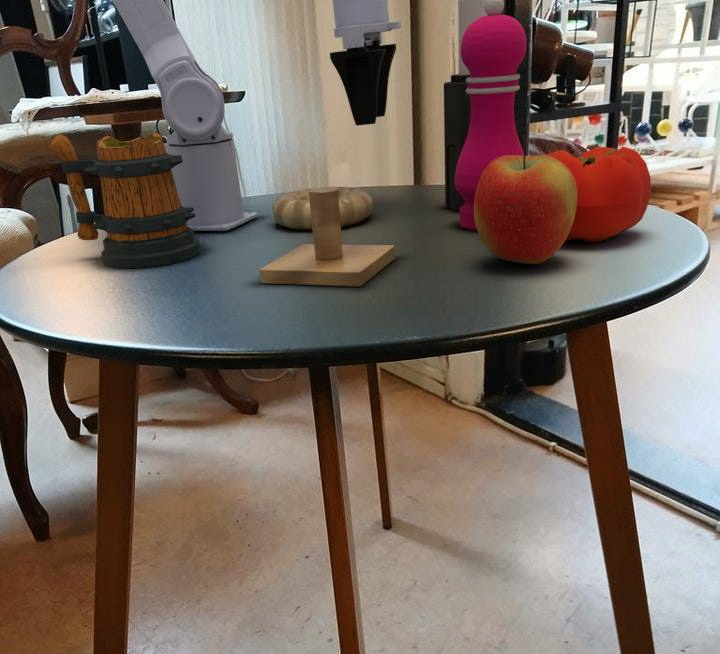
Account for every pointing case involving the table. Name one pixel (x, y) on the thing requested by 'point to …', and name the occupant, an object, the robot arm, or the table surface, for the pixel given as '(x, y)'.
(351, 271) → the peg stand
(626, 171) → the tomato
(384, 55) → the robot arm
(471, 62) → the pepper mill
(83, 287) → the table surface
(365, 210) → the ring
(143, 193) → the mug
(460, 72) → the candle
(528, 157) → the apple
